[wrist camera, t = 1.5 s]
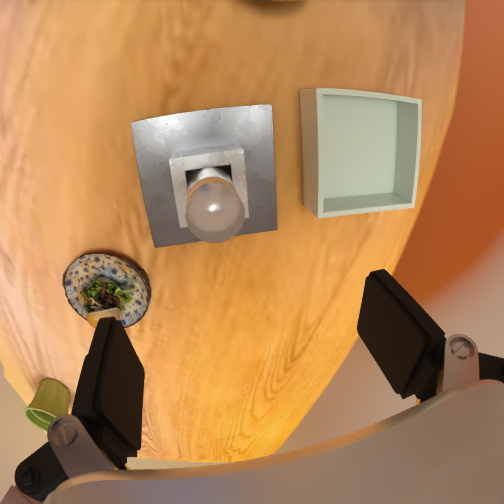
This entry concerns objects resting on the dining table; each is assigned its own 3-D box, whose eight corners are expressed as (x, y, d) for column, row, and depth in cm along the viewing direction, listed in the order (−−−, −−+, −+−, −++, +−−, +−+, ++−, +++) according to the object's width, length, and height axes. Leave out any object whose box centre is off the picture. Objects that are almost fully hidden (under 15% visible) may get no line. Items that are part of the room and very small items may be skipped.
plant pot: (31, 366, 38) (18, 402, 30) (74, 380, 41) (65, 418, 33) (40, 393, 42) (30, 426, 34) (79, 405, 44) (73, 440, 37)
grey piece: (172, 151, 27) (160, 177, 17) (236, 143, 28) (259, 163, 18) (181, 211, 30) (177, 264, 20) (241, 202, 31) (264, 250, 21)
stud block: (133, 122, 25) (121, 124, 21) (269, 104, 27) (282, 104, 23) (155, 244, 32) (150, 266, 28) (275, 226, 34) (287, 245, 30)
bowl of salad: (157, 255, 33) (149, 292, 27) (147, 327, 38) (142, 368, 32) (65, 237, 30) (40, 270, 23) (69, 312, 34) (53, 349, 28)
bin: (299, 89, 27) (316, 87, 23) (397, 97, 28) (421, 99, 24) (302, 203, 33) (317, 218, 29) (393, 195, 35) (414, 207, 31)
